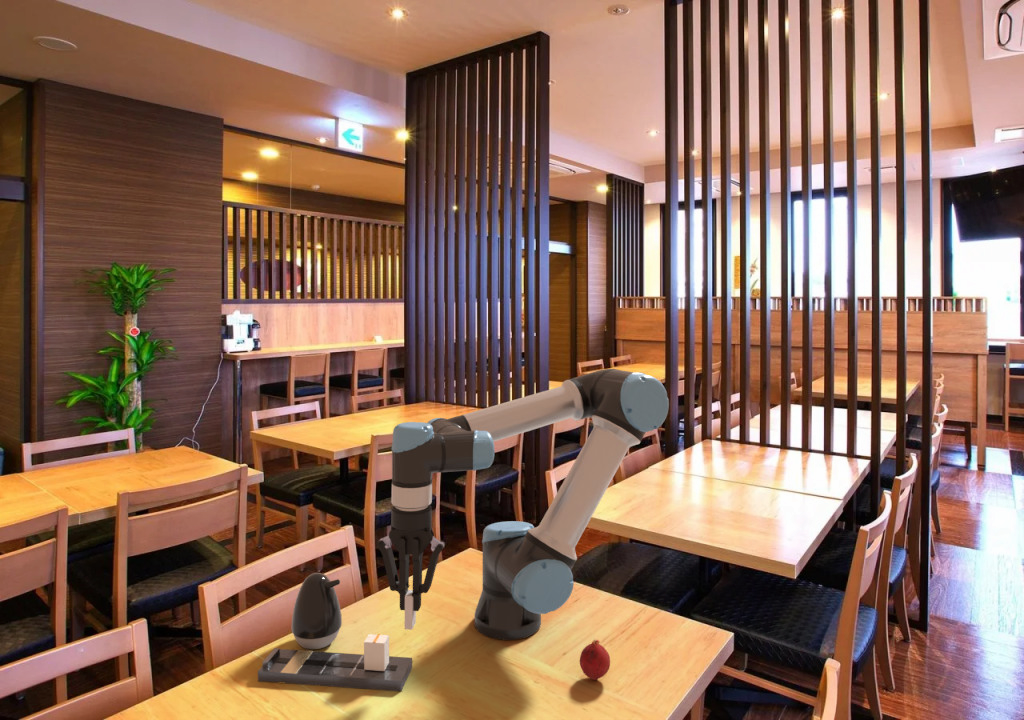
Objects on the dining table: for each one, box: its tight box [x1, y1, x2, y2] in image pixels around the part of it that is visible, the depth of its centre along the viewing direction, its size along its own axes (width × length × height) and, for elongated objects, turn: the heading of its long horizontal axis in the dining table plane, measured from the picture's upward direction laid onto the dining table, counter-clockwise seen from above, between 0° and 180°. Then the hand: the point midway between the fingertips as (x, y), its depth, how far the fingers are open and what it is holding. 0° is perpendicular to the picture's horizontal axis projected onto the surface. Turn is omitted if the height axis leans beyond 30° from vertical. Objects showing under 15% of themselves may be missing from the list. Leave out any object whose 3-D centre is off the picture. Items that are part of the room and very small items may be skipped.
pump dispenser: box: [291, 572, 343, 650], centre depth 135 cm, size 10×10×15 cm
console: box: [257, 647, 413, 692], centre depth 124 cm, size 28×8×3 cm, turn 84°
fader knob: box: [363, 633, 390, 671], centre depth 123 cm, size 4×3×6 cm
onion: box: [579, 638, 611, 681], centre depth 123 cm, size 6×6×8 cm
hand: (410, 625), depth 122 cm, fingers closed
